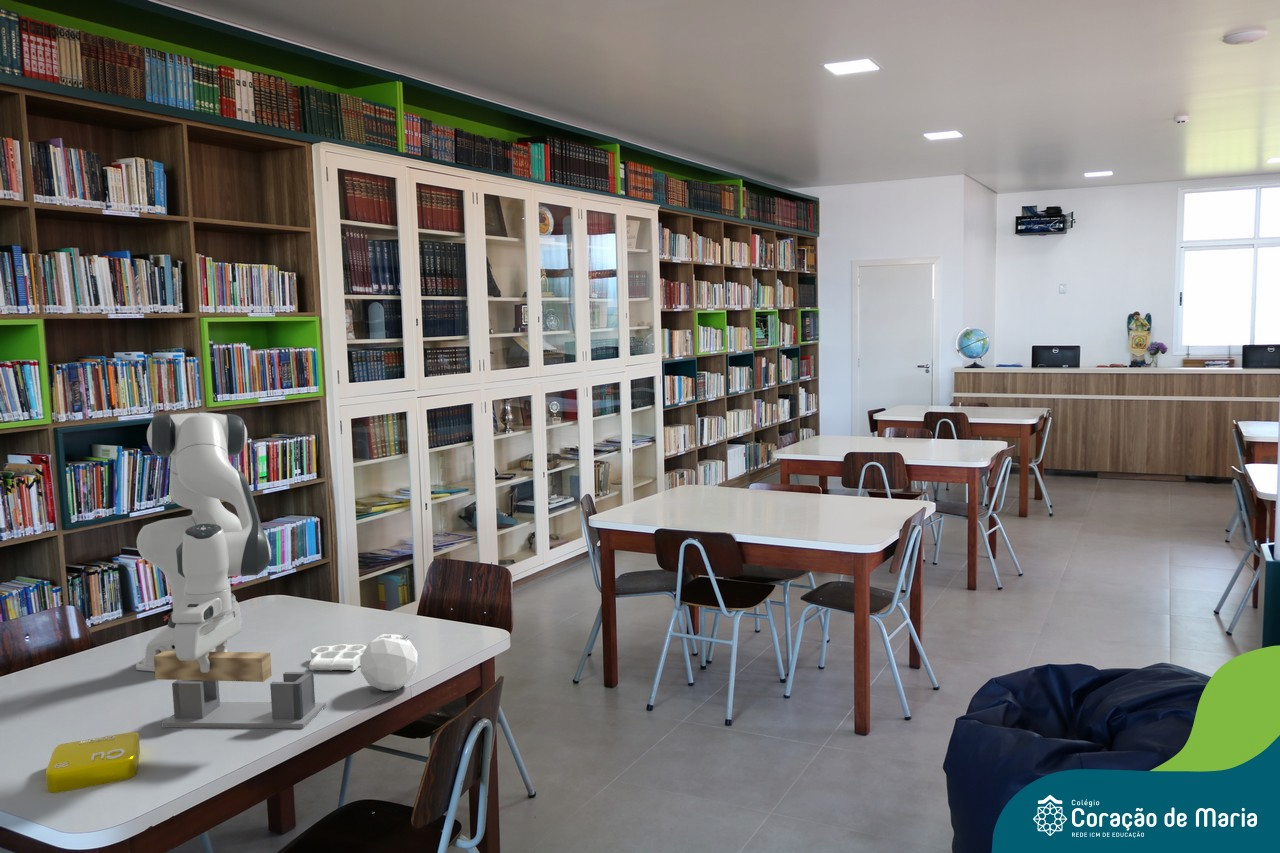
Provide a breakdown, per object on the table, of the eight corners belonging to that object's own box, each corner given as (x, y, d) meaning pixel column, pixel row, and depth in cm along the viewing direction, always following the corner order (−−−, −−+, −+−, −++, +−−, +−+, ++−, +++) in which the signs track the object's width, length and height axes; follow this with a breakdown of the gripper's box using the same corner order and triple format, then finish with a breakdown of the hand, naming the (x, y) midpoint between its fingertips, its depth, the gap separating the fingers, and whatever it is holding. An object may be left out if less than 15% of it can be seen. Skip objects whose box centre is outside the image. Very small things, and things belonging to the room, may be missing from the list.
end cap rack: (162, 726, 209) (159, 687, 209) (192, 705, 221) (189, 668, 221) (303, 728, 207) (300, 687, 206) (326, 706, 219) (323, 668, 218)
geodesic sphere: (429, 650, 239) (392, 611, 235) (438, 667, 226) (399, 627, 222) (383, 691, 236) (346, 653, 232) (390, 710, 223) (350, 670, 219)
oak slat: (155, 679, 201) (153, 656, 200) (165, 673, 204) (164, 650, 204) (263, 681, 198) (261, 658, 197) (271, 675, 201) (270, 652, 201)
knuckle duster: (297, 673, 242) (321, 654, 257) (365, 674, 241) (386, 655, 255) (296, 660, 242) (321, 642, 257) (365, 661, 240) (386, 642, 255)
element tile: (140, 749, 198) (139, 727, 198) (136, 779, 185) (134, 755, 184) (57, 764, 192) (55, 742, 192) (45, 796, 179) (43, 772, 178)
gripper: (219, 589, 210) (223, 650, 211) (166, 617, 190) (171, 684, 191) (247, 589, 209) (251, 650, 211) (196, 617, 189) (201, 684, 190)
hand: (212, 667), depth 201 cm, fingers closed on oak slat, 4 cm apart
